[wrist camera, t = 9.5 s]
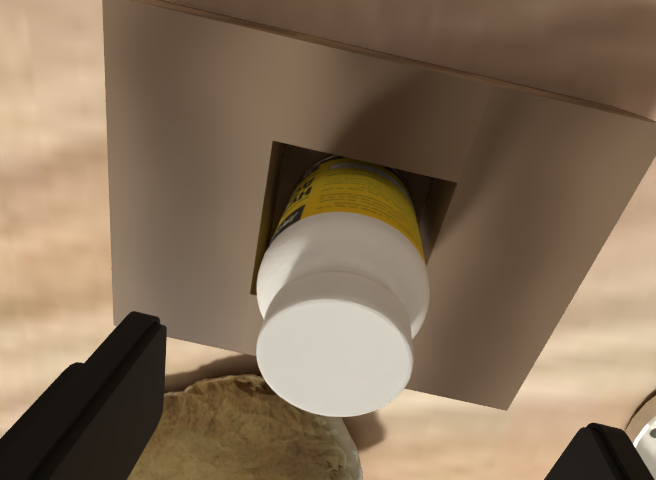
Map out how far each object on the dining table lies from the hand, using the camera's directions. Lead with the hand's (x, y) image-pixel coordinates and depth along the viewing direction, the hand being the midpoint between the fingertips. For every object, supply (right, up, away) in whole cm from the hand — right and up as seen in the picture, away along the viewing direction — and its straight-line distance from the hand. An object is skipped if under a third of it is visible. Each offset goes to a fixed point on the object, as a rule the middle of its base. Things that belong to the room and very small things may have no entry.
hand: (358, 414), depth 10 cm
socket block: (0, +5, +10) cm, 11 cm away
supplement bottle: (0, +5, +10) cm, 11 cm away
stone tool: (-11, -9, +19) cm, 24 cm away
